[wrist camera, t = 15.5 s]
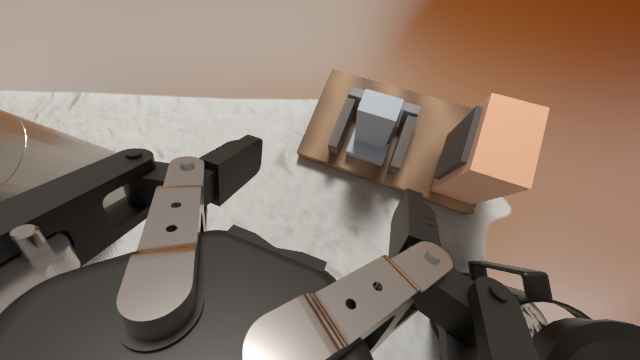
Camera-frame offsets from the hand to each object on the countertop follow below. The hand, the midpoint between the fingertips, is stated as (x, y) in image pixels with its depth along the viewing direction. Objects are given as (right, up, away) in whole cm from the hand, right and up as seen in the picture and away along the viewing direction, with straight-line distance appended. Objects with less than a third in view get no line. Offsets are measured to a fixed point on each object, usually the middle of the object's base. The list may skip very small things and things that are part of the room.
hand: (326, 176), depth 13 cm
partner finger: (+18, +1, +18) cm, 25 cm away
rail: (+10, +6, +22) cm, 25 cm away
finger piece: (+7, +5, +20) cm, 22 cm away
